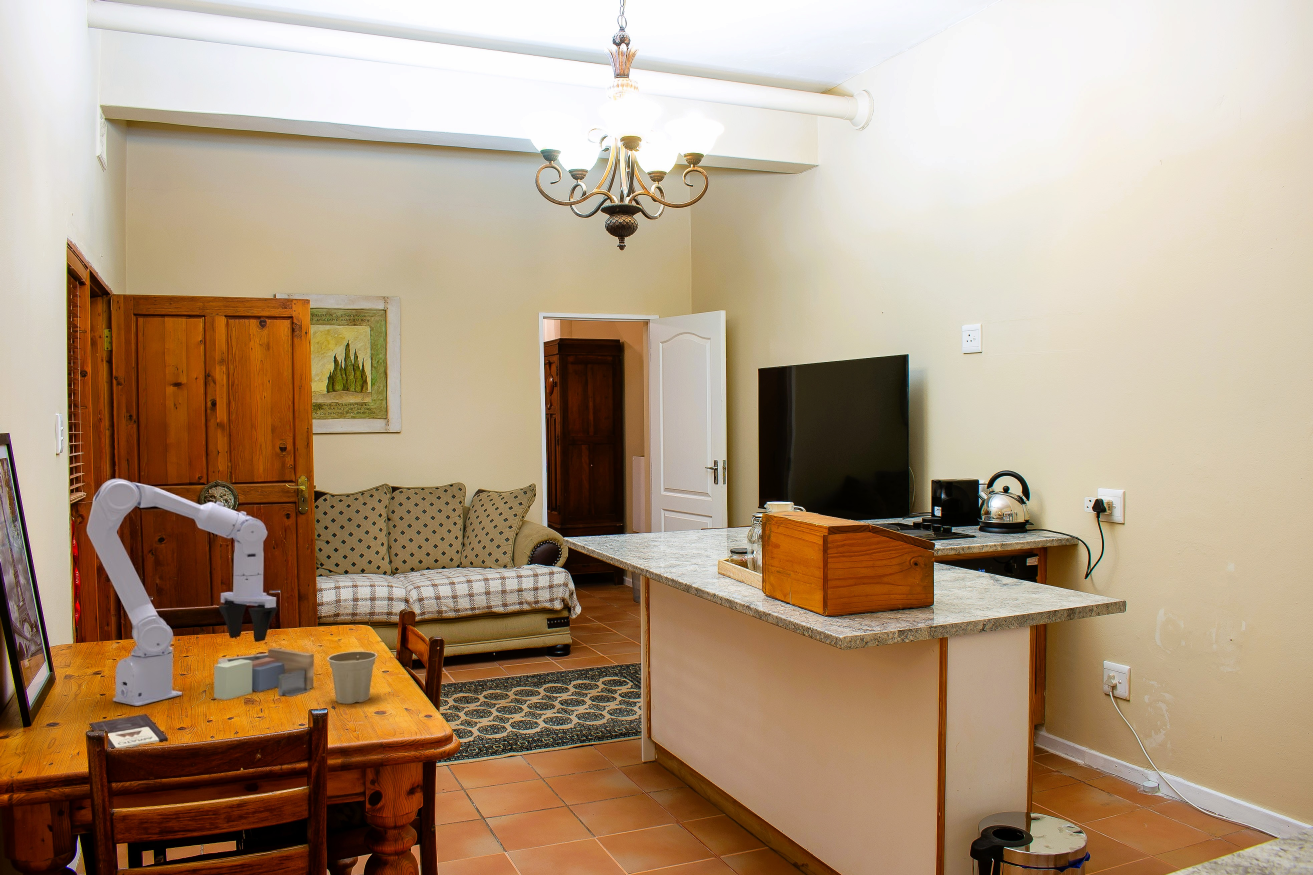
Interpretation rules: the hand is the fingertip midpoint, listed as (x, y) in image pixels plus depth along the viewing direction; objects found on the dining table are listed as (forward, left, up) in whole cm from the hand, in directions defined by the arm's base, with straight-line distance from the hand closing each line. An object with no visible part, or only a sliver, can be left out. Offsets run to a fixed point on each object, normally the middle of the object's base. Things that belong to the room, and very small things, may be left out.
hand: (247, 639), depth 191 cm
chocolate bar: (-32, -10, -10) cm, 35 cm away
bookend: (+1, -13, -10) cm, 16 cm away
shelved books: (+1, -5, -10) cm, 11 cm away
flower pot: (+2, -28, -10) cm, 30 cm away
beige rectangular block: (-7, -5, -10) cm, 13 cm away
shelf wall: (+4, -8, -10) cm, 13 cm away
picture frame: (+10, +8, -11) cm, 17 cm away
